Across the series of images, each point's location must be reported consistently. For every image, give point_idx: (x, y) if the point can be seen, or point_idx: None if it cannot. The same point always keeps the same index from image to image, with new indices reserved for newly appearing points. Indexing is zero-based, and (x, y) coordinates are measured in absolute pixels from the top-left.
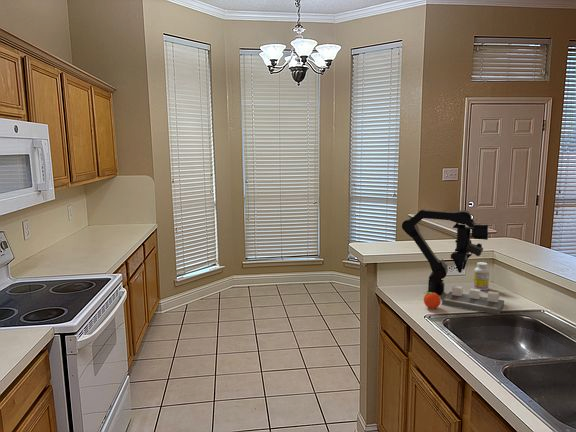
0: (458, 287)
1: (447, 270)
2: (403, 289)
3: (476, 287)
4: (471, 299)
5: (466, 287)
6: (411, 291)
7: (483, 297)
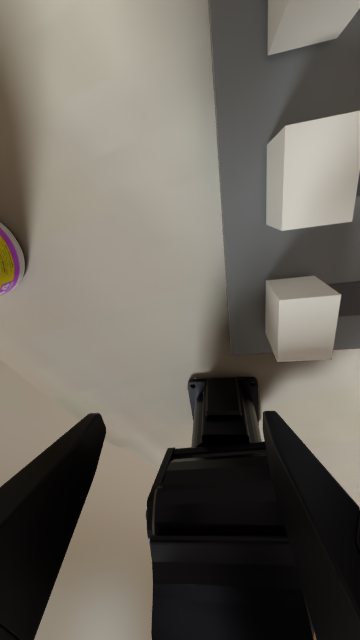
0: (313, 322)
1: (183, 493)
2: None
3: (19, 270)
4: None
5: (40, 319)
6: None
7: (231, 128)
